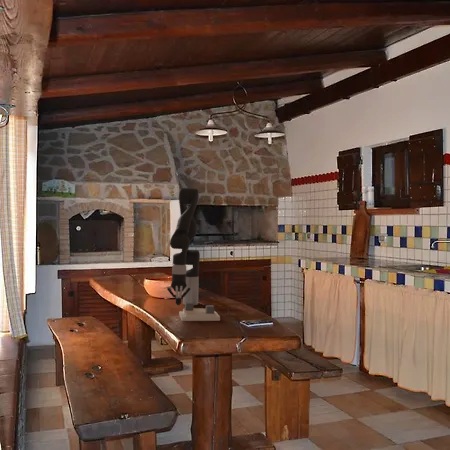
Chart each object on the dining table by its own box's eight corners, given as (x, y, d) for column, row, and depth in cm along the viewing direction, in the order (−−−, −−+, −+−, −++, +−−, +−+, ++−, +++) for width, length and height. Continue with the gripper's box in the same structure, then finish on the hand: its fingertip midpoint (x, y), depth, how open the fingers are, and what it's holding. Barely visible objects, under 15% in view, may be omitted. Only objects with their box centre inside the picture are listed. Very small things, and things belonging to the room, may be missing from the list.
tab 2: (205, 314, 291) (205, 305, 291) (212, 314, 292) (213, 305, 292) (206, 316, 287) (206, 306, 287) (214, 315, 288) (214, 306, 288)
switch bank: (179, 314, 300) (179, 308, 299) (215, 314, 303) (215, 308, 303) (181, 321, 284) (182, 314, 284) (220, 320, 287) (220, 313, 287)
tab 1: (185, 311, 299) (185, 302, 298) (192, 311, 299) (192, 302, 299) (185, 312, 295) (186, 303, 294) (193, 312, 295) (193, 303, 295)
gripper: (190, 272, 300) (189, 303, 300) (166, 272, 298) (165, 303, 298) (192, 273, 293) (191, 306, 293) (167, 273, 290) (166, 306, 291)
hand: (178, 305), depth 295 cm, fingers closed
